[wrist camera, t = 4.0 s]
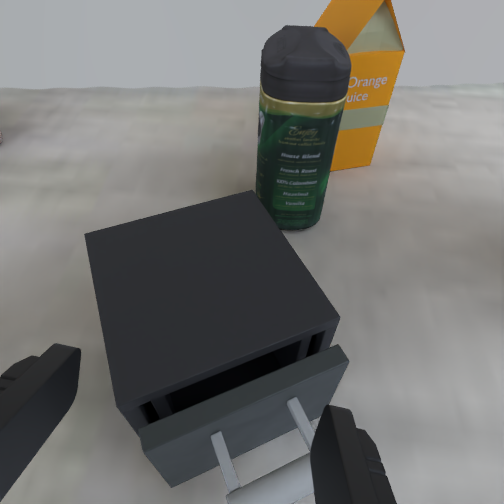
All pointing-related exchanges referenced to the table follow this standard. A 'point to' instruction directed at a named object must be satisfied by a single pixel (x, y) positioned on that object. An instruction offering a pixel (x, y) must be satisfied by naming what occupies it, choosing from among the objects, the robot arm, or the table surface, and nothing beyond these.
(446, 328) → the table surface
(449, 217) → the table surface
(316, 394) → the grey drawer unit
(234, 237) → the dark grey square box
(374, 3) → the orange juice
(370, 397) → the table surface
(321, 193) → the coffee jar
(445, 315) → the table surface
